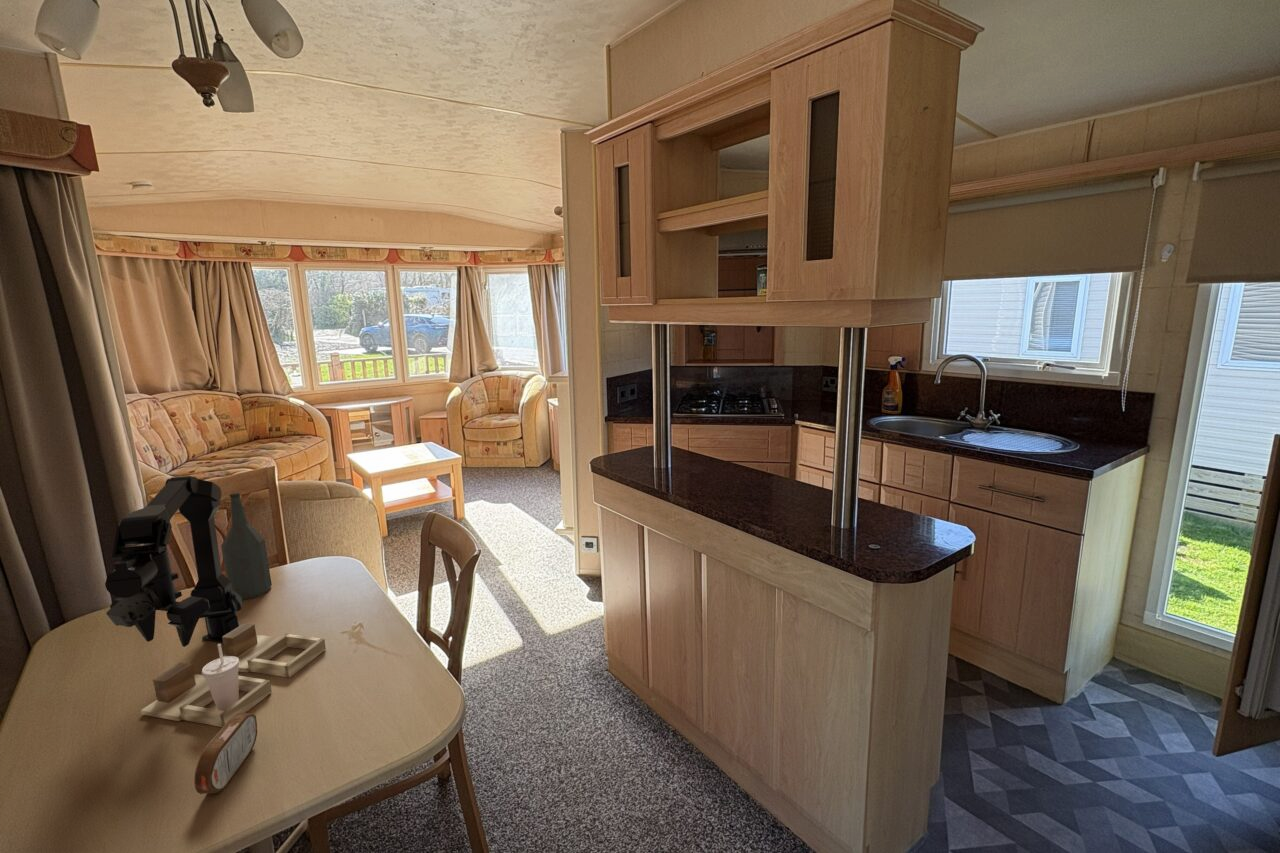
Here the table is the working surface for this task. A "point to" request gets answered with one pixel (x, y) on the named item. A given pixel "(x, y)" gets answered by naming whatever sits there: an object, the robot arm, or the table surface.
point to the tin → (226, 753)
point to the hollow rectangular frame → (269, 650)
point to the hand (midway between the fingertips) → (167, 643)
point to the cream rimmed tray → (199, 697)
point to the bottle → (245, 555)
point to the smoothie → (223, 680)
